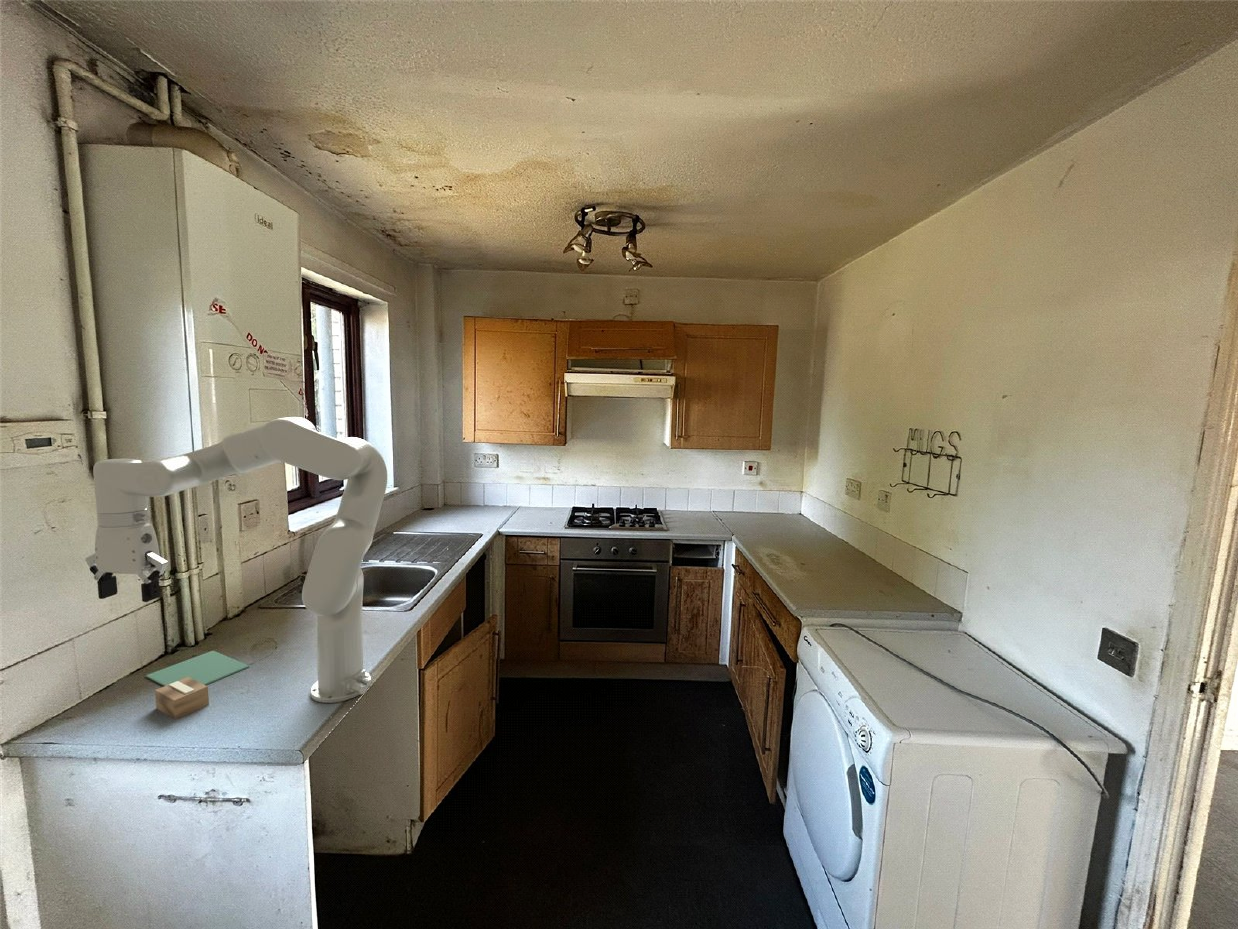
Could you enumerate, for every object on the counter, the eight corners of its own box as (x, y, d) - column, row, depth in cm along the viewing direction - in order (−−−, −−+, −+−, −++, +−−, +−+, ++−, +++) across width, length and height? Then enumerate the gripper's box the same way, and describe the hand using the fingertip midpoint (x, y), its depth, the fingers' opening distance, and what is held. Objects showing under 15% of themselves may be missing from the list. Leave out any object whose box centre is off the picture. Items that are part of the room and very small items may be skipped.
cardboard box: (209, 705, 111) (207, 685, 110) (176, 720, 105) (174, 699, 105) (189, 695, 114) (188, 675, 114) (156, 709, 109) (154, 688, 108)
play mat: (248, 667, 126) (248, 665, 126) (181, 695, 114) (181, 693, 114) (213, 651, 133) (213, 650, 133) (146, 676, 120) (145, 675, 120)
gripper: (179, 517, 106) (184, 594, 108) (104, 512, 108) (111, 589, 110) (144, 525, 99) (150, 608, 101) (63, 520, 100) (71, 602, 102)
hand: (129, 598), depth 105 cm, fingers open, 9 cm apart
